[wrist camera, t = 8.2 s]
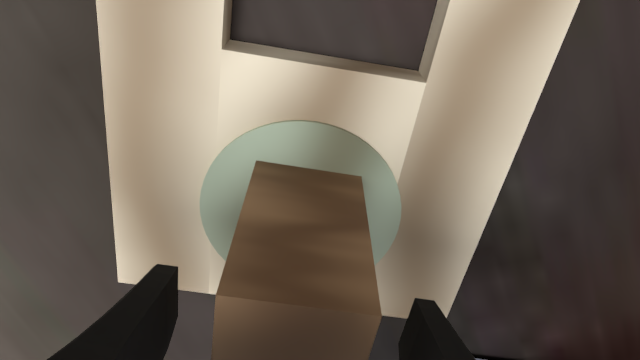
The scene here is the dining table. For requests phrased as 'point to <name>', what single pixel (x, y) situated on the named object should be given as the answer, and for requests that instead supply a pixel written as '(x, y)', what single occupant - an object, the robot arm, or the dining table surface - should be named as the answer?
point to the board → (317, 133)
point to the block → (298, 270)
